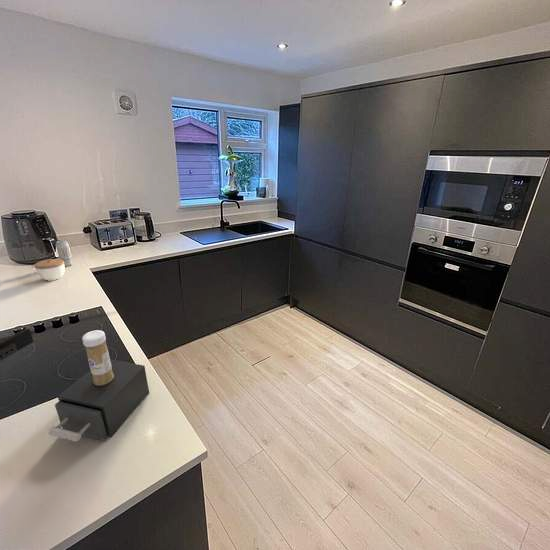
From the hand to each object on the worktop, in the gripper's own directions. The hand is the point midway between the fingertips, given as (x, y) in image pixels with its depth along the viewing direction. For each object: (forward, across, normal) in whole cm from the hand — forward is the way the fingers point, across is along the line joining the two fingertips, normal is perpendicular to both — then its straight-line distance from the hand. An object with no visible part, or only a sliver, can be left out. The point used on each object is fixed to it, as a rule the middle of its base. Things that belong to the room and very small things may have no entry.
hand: (0, 329), depth 53 cm
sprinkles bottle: (+14, +5, -23) cm, 27 cm away
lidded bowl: (+81, -89, -32) cm, 124 cm away
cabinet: (+14, +5, -32) cm, 35 cm away
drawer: (+10, +5, -31) cm, 33 cm away
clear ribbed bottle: (+100, -100, -32) cm, 145 cm away
